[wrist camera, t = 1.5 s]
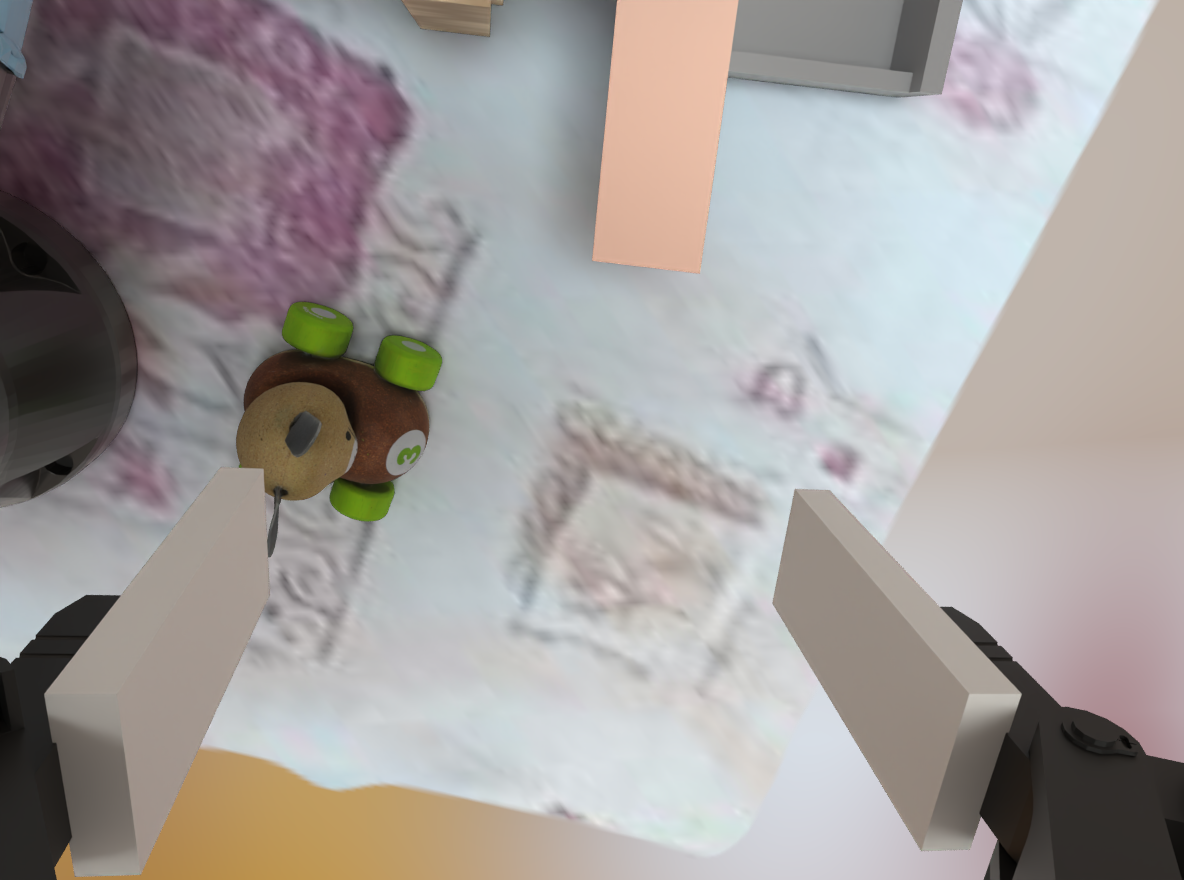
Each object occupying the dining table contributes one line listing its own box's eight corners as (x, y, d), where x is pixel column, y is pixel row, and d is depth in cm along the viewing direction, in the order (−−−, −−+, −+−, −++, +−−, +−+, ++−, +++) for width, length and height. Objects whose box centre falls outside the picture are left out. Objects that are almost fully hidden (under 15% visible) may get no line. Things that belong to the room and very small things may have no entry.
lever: (227, 208, 34) (145, 217, 30) (202, -251, 29) (96, -334, 24) (701, 264, 32) (698, 284, 27) (769, -219, 27) (781, -302, 22)
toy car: (400, 508, 44) (372, 625, 34) (233, 455, 42) (148, 563, 31) (458, 353, 41) (447, 429, 31) (282, 289, 39) (208, 347, 29)
